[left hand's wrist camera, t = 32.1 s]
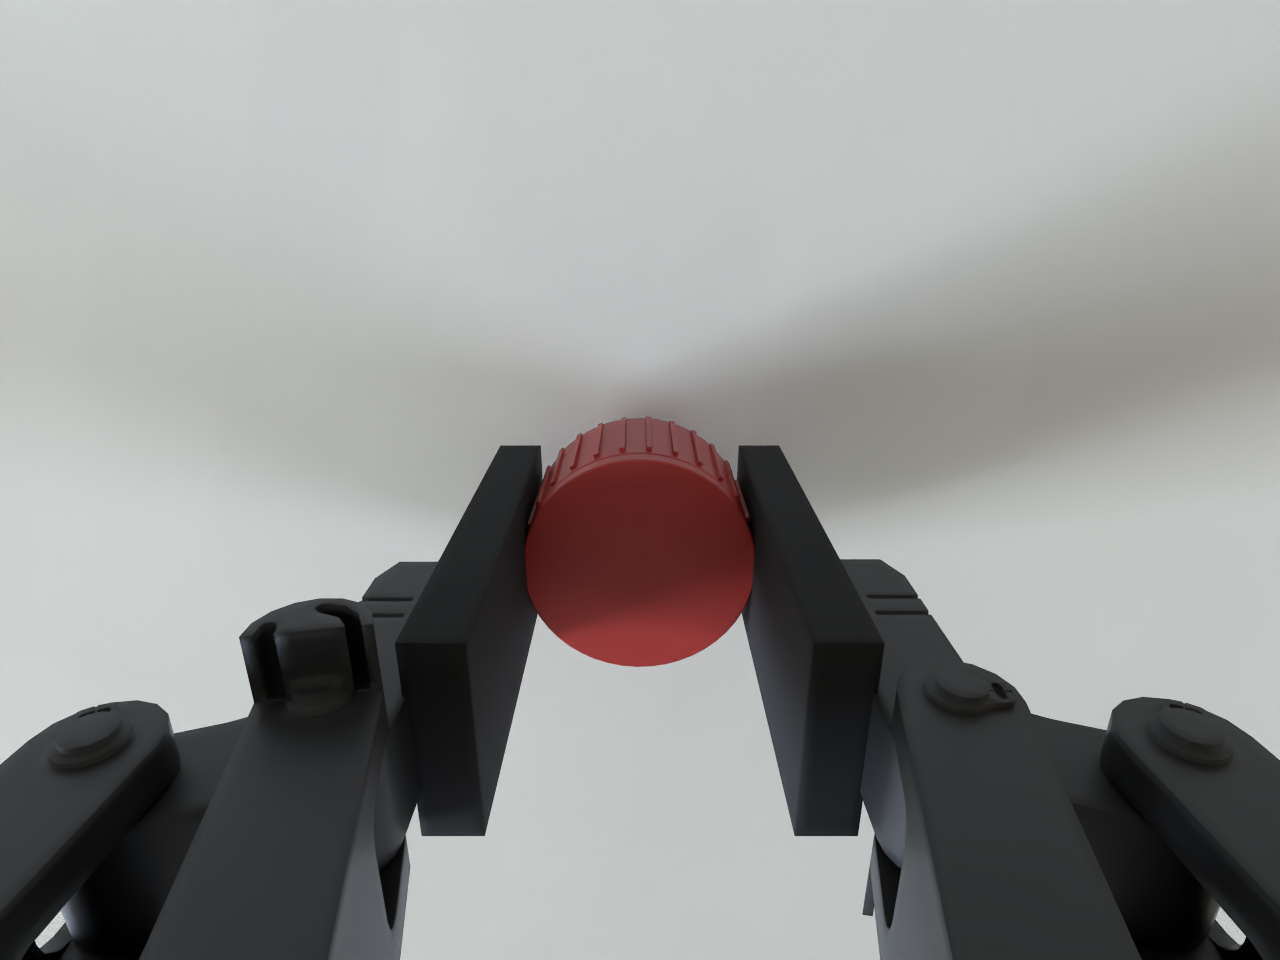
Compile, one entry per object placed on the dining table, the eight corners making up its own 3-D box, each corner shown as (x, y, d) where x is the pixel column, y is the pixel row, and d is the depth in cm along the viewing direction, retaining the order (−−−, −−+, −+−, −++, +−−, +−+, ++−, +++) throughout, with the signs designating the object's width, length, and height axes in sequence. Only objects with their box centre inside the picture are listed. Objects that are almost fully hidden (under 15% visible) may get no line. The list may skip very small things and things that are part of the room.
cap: (688, 629, 15) (696, 699, 13) (507, 559, 15) (485, 622, 13) (777, 464, 14) (802, 513, 12) (583, 380, 13) (572, 417, 11)
